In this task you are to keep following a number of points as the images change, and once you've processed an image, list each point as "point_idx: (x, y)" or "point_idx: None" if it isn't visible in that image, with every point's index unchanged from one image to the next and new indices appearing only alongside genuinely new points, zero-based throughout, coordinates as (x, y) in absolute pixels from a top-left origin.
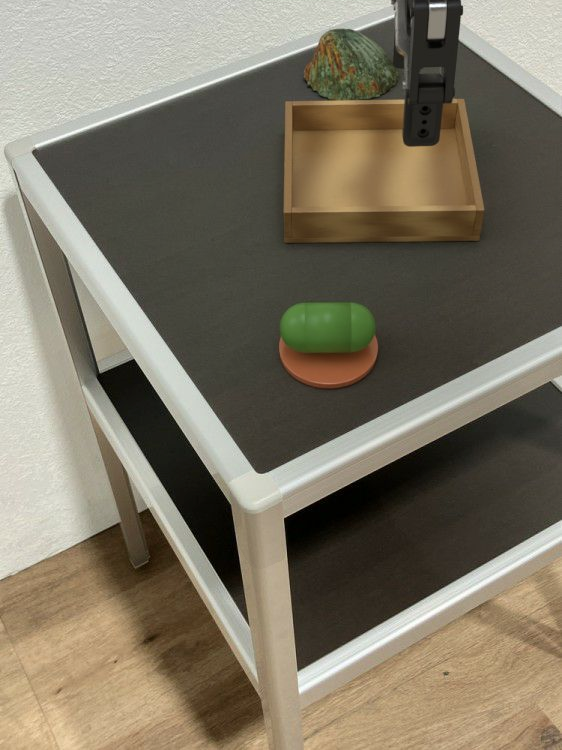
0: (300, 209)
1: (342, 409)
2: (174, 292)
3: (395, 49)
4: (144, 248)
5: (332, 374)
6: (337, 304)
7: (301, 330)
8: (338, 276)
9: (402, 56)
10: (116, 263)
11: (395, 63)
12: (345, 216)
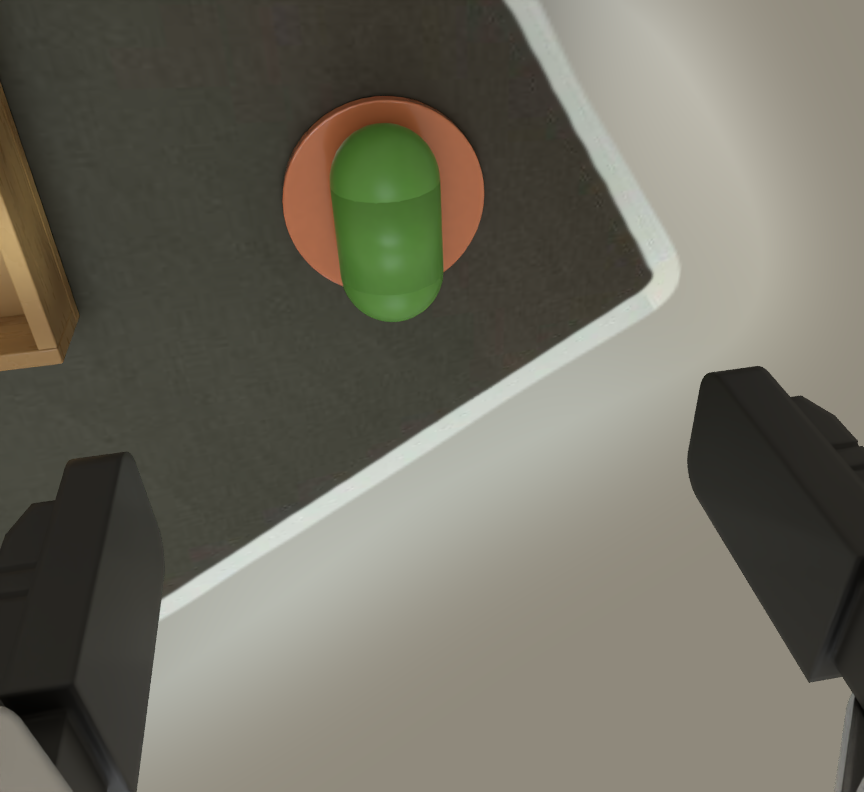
0: (39, 331)
1: (530, 158)
2: (265, 468)
3: (154, 627)
4: (163, 532)
5: (460, 189)
6: (372, 230)
7: (434, 287)
8: (159, 194)
9: (148, 571)
10: (210, 558)
11: (161, 565)
12: (18, 224)
